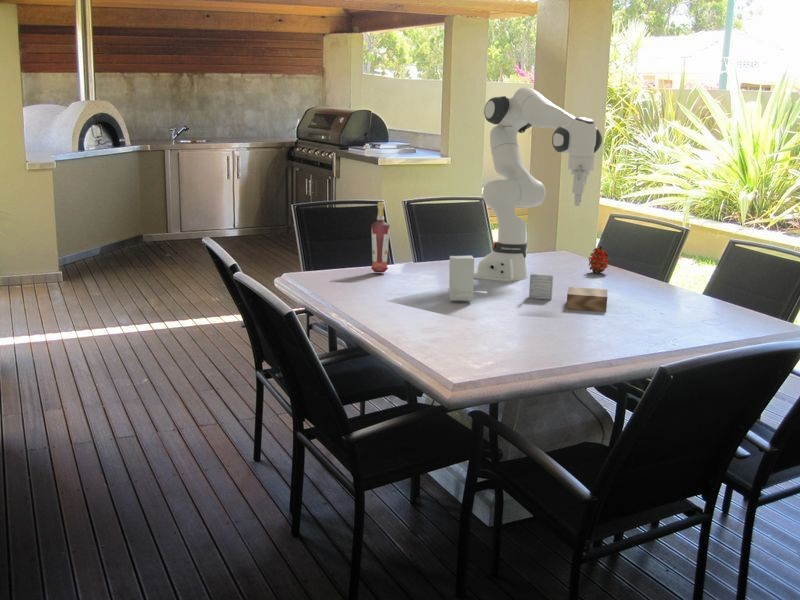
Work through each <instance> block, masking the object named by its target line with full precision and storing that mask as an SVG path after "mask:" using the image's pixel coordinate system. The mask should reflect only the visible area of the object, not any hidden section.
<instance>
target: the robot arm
mask: <svg viewBox="0 0 800 600" xmlns="http://www.w3.org/2000/svg"><path fill="white" fill-rule="evenodd" d="M483 109H484V110H483V111H484V113H483V114H484V118H485V119H486V121H487V122H488V123H491V124H492V125H494V127H492V128H491V130H490V131H489V134H490V135H489V145H490V152H491V157H492V161H493V168H494V170H495V172H496V173H497V174H498V175H500V176H501V177H503V178H505V179H496V180H491V181H488V182H487V183H486V184H485V185H484V187H483V190H482V198H483V201H484V203H485V204H486V205H487V206H488V208H490V209H491V210H492V211H493V213H494V215H495V217H496V220H497V230H498V231H497V236H498V237H497V241H496V240H495V241H493V243H492V251H491V252H489V253H488V254H486V255H485V256H484V257H483V258H481V259H480V260H479V262H478V264H477V268H476V270H474V279H483V280H493V281H502V282H514V281H523V280H526V279H529V275H528V270H527V261H526V260H527V254H528V243H527V231H528V226H527V223H526V221H525V220H524V219H522V217H519V216H517V214H516V209H517V208H529V209H530V208H534V207H537V206H538V207H539V206H541V205H542V204H543V202H545V200H546V196H547V191H546V188H545V187H546V186H545V185H544V184H543V182H541V181H540V180H538V179H536V178H535V177H534V176H533V175H532V174H531V173H530V172H529V171H528V169H527V168H526V166H525V164H524V162H523V159H522V155H521V150H520V146H519V142H518V138H517V135H518V133H519V134H523V133H525V132H526V130H529V128H531V127H532V126H534V127H537V128H542V129H543V128H544V129H545V128H546V129H554V132H553V134H552V139H551V143H552V147H553V148H554V150H555V151H556V152H557V153H560V154H568V162H567V169H568V170H570V174H571V175H573V182H572V194H574V206H575V207H579V206H580V205H581V204H580V203H581V202H582V196H583V194H584V191H585V188H586V184H587V179H588V176H589V175H590V172H591V171H594V167H595V166H594V165H595V153H596V152H598V150H599V149H600V148H601V145H602V143H603V138H602V137H603V136H602V133H601V131H600V130H599V129H598V128H597V125H596V121H595V120H594V119H592V118H590V117H584V116H583V117H582V116H577V117H576V116H574V115H573V114H571V113H570V112H568V111H566V110H564V109H563V108H561V107H559V106H558V105H556V104H554V103H553V102H552V101H550V100H549V99H548V98H546V97H545V96H544V95H543V94H541V92H539V91H538V90H535V89H533V88H531V87H529V86H524V87H520V88H518V89H517V90H516V91H515V93H514V94H513V96H512V97H507V96H506V95H503V96H494V97H491V98H490V99H489V100H488V101H487V102H485V106H484V108H483Z"/></svg>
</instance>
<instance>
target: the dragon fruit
mask: <svg viewBox="0 0 800 600" xmlns="http://www.w3.org/2000/svg"><path fill="white" fill-rule="evenodd" d="M609 263H610V260H609V254H608V252H606V251H605V249H604V248H603V247H602V246H601V245H599V247H595V248H594V249H593V250H592V253H590V256H588V266H589V270H590V271H592V273H596V274H597V275H598V274H599V273H600V274H601V273H603V272H604V271H605V270H606V269H607V268H608V266H609Z"/></svg>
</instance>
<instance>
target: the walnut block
mask: <svg viewBox="0 0 800 600" xmlns="http://www.w3.org/2000/svg"><path fill="white" fill-rule="evenodd" d="M565 306H566V310H575V311H577V310H579V311H589V312H590V311H591V312H592V311H593V312H594V311H595V312H607V306H608V289H603V288H590V287H577V286H576V287H575V286H569V287H568V291H567V294H566V305H565Z"/></svg>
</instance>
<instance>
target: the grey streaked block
mask: <svg viewBox="0 0 800 600" xmlns="http://www.w3.org/2000/svg"><path fill="white" fill-rule="evenodd" d="M553 285H554V274H553V273H543V272H531V273H530V275H529V289H528V291H529V292H528V299H532V300H533V299H536V300H550V301H551V300H552V299H553Z"/></svg>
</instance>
